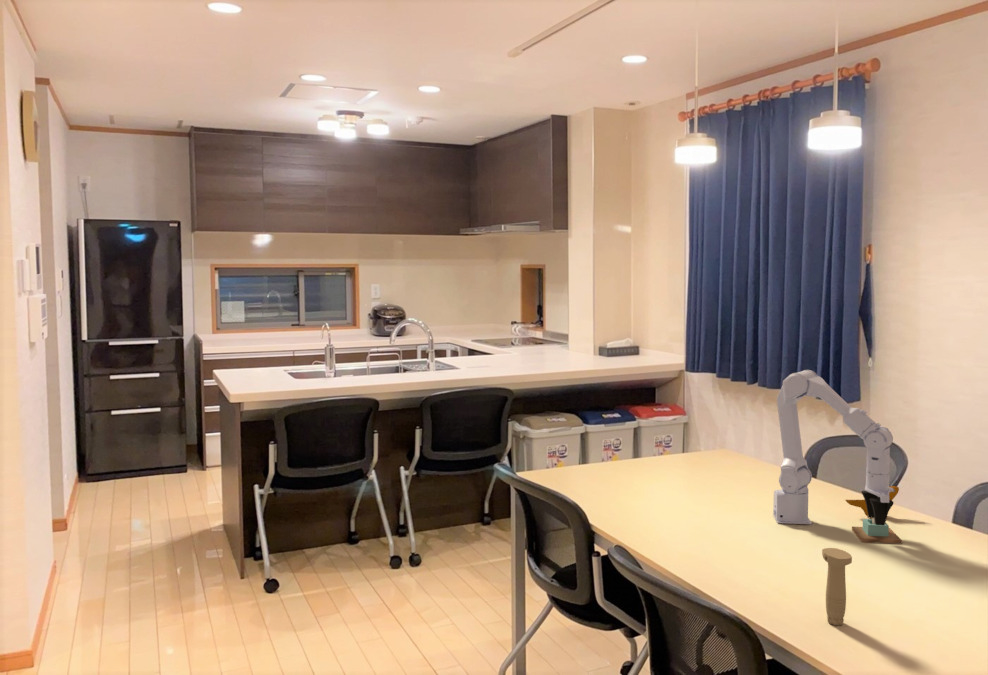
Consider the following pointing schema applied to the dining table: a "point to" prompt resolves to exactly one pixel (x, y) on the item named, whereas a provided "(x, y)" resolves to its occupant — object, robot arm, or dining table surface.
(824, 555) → the handle
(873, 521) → the post block
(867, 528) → the collar
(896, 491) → the toy
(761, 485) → the dining table surface
